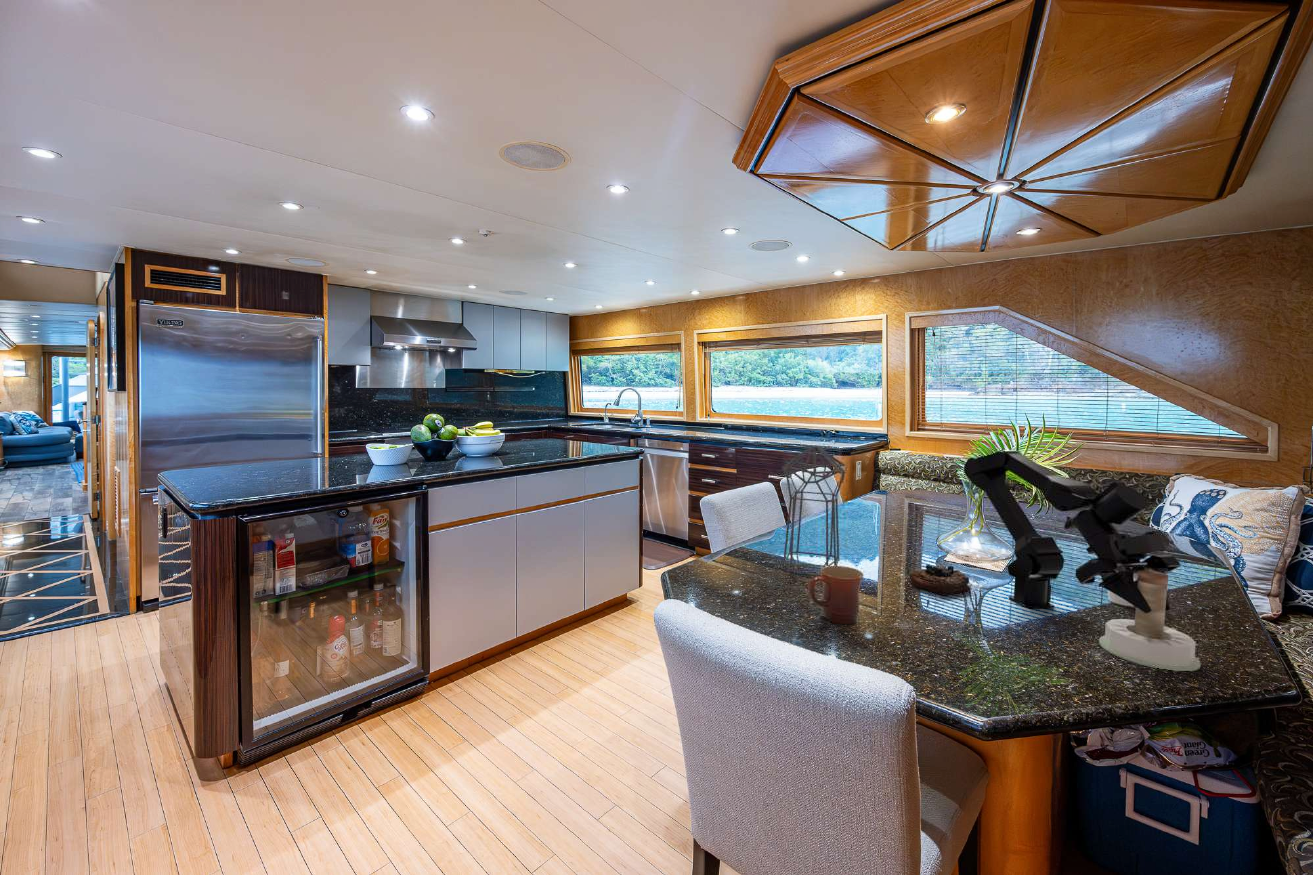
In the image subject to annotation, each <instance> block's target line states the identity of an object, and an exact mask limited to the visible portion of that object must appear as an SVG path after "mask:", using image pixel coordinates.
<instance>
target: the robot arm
mask: <svg viewBox="0 0 1313 875" xmlns="http://www.w3.org/2000/svg"><path fill="white" fill-rule="evenodd" d="M963 472H964V475H965V476H966V478H967V479H968V480H969V481H970V482H971V484H972V485H973V486H975V487H977V488H978V489H979V490H982V491H983V492H984V493H985V494H986V496H987V498H988V499H989V501H990V503H991V504H992V506H993V508H994V509H995V511H996V512H997V514H998V516H999V518H1000V519H1001V521H1002V523H1003V524H1004V525H1005V528H1006V529H1007V530H1008V533H1009V534H1010V535H1011V537H1012V539H1013V540H1014V556H1015V558H1016V559H1014V560H1013V561H1011V563H1009V564H1008V565H1007V566H1006V567H1007V572H1008V575H1009V576H1010V577H1013V578H1014V587H1013V588H1014V589H1013V590H1014V591H1013V595H1009V596H1008V599H1009V600H1011V601H1013V602H1016V603H1017V604H1019V605H1021V606H1024V607H1025V608H1027V609H1046V608H1047V609H1050V608H1051V609H1052V608H1055V605H1054V604H1053V603H1051V602H1052V601H1051V599H1052V598H1051V597H1052V596H1051V595H1052V584H1051V580H1057V579H1058V577H1059V574H1061V571H1062V570H1063V568H1064V563H1065V557H1064V556H1063V553H1064V551H1063V550H1061V548H1060V547H1059V546H1058V545H1057V542H1056V541H1055V539H1054V538H1053V537H1052V536H1042V535H1041V534H1039V533H1038V531H1037V530H1036V529H1035V527H1034V525H1033V524H1032V523H1031V521H1030V520H1029V518H1028V516H1027V515H1026V513H1025V512H1024V510H1023V509H1022V507H1021V506H1020V504H1019V503H1018V502H1019V501H1018V500H1017V499H1016V498H1015V496H1014V494H1013V493H1012V492H1011V490H1010V489H1009V487H1008V485H1007V483H1006V482H1007V472H1011V473H1012V474H1014V475H1015V476H1017V477H1018V478H1020V479H1022V480H1024V481H1025V482H1026V483H1028V484H1030V485H1031V486H1033V487H1034V488H1036V489H1037V490H1039V491H1040V492H1041V493H1042V495H1043V497H1044V500H1045V501H1046V502H1048V504H1050V505H1051V506H1052V507H1053V508H1054V509H1055V510H1057V511H1059V512H1078V513H1076V514H1075V515H1067V516H1066V521H1065V522H1064V526H1063V528H1064V530H1077V531H1078V533H1079V534H1080V535H1081V536H1082V538H1083V539H1084V540H1085V542H1086V543H1087V545H1088V547H1086V548H1085V550H1086V552H1087V553H1088V554H1095V556H1096V558H1095V557H1094V558H1091V559H1090V560H1088V561H1086V562H1084V563H1083V564H1082V565H1080V566H1078V567H1077V568H1076V569H1075V578H1077V581H1078V582H1079V583H1080V585H1092V584H1094V583H1095V580H1096V578H1095V577H1097V576H1098V577H1099V576H1100V577H1101V578H1100V579H1101V582H1099V583H1098V584H1097V585H1098V587H1099V588H1104V589H1105V590H1107V591H1108V590H1109V591H1111V592H1112V593H1114V594H1116V595H1118V596H1119V597H1121V598H1122V599H1124V600H1126V601H1127V602H1129V603H1130V604H1132V605H1133V606H1132V607H1135V608H1136V607H1137V608H1138V609H1140V610H1141V611H1143V612H1144V613H1149V612H1151V608H1150V607H1149V605H1148V603H1147V601H1146V600H1145V598H1144V597H1143V595H1142V594H1141V592H1140V591H1139V589H1138V571H1139V570H1150V571H1156V572H1160V573H1164V574H1166V575H1168V574H1169V573H1171V572H1173V571H1174V570H1176V569H1179V568H1180V567H1181V566H1182V564H1181V563H1180V562H1179V560H1177V558H1176V557H1175V555H1170V554H1167V553H1165V554H1153V555H1150V556H1149V555H1148V554H1150V553H1155V552H1157V553H1158V552H1161V553H1163V552H1168V548H1167V547H1169V546H1170V541H1171V540H1170V538H1168V537H1167V535H1165V534H1164V532H1162V531H1161V530H1160V529H1159V530H1151V531H1146V532H1144V534H1141V535H1134V536H1131V535H1130V534H1128V533H1121V532H1119V530H1118V528H1117V527H1116V526H1115V525H1118V526H1119V525H1121V526H1122V525H1124V524H1126V523H1127V522H1129V521H1130V520H1132V519H1133V518H1134V517H1136V516H1138V515H1139V514H1141V513H1142V512H1143V511H1145V510H1147V509H1148V508H1149V505H1150V504H1149V501H1148V499H1147V497H1146V496H1145V494H1144V493H1142V492H1139V491H1138V490H1136V489H1135V488H1133V487H1131V486H1129V485H1126V484H1125V482H1124V481H1118V480H1117V481H1113V482H1111V483H1110V484H1109V485H1108V486H1107V487H1106V488H1105V489H1104V490H1102V491H1101V492H1099V491H1096V489H1094V488H1093V487H1092V486H1091V485H1089V484H1087V483H1084V482H1081V481H1078V480H1076V479H1072V478H1068V477H1063V476H1060V475H1058V474H1056V473H1054V472H1052V471H1051V470H1049V469H1047V468H1046V467H1045V466H1042V465H1040V464H1038V463H1037V462H1035V461H1034V460H1031V459H1030V458H1028V457H1026V456H1025V455H1024V454H1022V452H1020V451H1018V450H1017V449H1016V450H1015V449H1002V450H997V451H995V452H994V453H991V454H990V453H989V454H987V455H982V456H979V457H970V458H968V459H967V460H966V462H965V464H964V466H963ZM1141 560H1142V561H1141ZM1134 577H1135V579H1136V581H1134ZM1168 611H1171V605H1170V603H1169V600H1168V595H1166V607H1165V613H1166V612H1168Z"/></svg>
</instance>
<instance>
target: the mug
mask: <svg viewBox="0 0 1313 875" xmlns="http://www.w3.org/2000/svg"><path fill="white" fill-rule="evenodd" d="M819 572H820V573H819V574H821V576H817V575H816V576H813V577H812V578H810V579H809V580H808V581H809V582H808V586H807V587H808V588H807V590H808V595H809V597H810V600H811V602H813V603H814V604H816V605H818V606H820V607H821V609H822V610H821V611H822V615H823V617H824V618H825V619H826V620H827V621H829V622H831V623H834V624H839V625H850V624H853V623H855V622H857V620H858V617H859V612H860V586H861V583H862V580H863V578H864V573H863V572H862V571H860V570H858V569H857V568H853V567H850V566H841V565H837V566H834V565H831V566H827V567H821V569H819ZM819 581H820V582H823V583H822V586H823V587H822V599H817V598H816V592H815V585H816V584H817V583H816V582H819Z"/></svg>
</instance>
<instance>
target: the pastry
mask: <svg viewBox="0 0 1313 875" xmlns="http://www.w3.org/2000/svg"><path fill="white" fill-rule="evenodd" d="M909 579H910V582H909V583H910V585H911V586H913V587H915V588H917V589H918V590H921V591H924V592H927V593H929V594H934V595H937V596H940V595H941V596H940V597H949V595H951V596H956V594H957V595H961V594H960V593H962V594H965V592H968V593H967V594H969V592H970V591H971V586H969V585H968V584H970V578H969V577H968V576H966V575H965V573H963V572H961V570H960V569H955V568H954V566H953V565H949V566H947V567H945V566H943V565H935V566H934V565H931V564H926V565H925V568H923V569H922V568H918V569H915V570H912V572H911V573H910V575H909Z"/></svg>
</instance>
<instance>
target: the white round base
mask: <svg viewBox="0 0 1313 875" xmlns="http://www.w3.org/2000/svg"><path fill="white" fill-rule="evenodd" d="M1134 626H1135V619H1128V618H1120V619H1113V618H1112V619H1110V620H1108V621H1107V622H1105V627H1104V635H1101V636H1100V637H1099V639H1098V643H1099V646H1100V647H1101V648H1102V649H1104V651H1106V652H1108V653H1110V654H1112V655H1114V656H1116V657H1118V658H1120V659H1123V660H1124V661H1125V660H1126V661H1128V662H1131V663H1133V664H1137V665H1142V666H1144V667H1148V668H1153V669H1157V668H1159V669H1158V670H1162V669H1167V670H1166V671H1168V670H1173V671H1172V672H1178V671H1190V672H1195V671H1198V670H1200V668H1201V661H1200V660H1199V658H1198V657H1196V656H1195V655H1196V644H1197V642H1196V641H1195V640H1194V639H1193V638H1192V637H1190V636H1189V635H1187V634H1186V633H1184V632H1181V631H1178V630H1175V629H1173V628H1171V627H1168V626H1164V632H1163V640H1159V639H1153V638H1148V637H1144V636H1140V635H1137V634H1135V633H1134Z"/></svg>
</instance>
